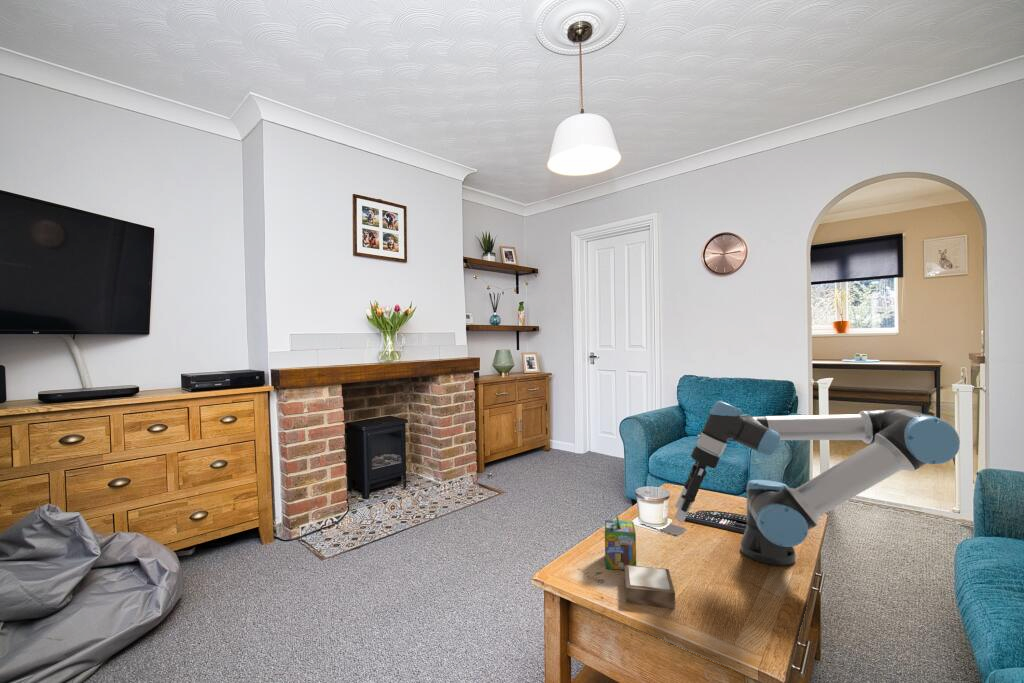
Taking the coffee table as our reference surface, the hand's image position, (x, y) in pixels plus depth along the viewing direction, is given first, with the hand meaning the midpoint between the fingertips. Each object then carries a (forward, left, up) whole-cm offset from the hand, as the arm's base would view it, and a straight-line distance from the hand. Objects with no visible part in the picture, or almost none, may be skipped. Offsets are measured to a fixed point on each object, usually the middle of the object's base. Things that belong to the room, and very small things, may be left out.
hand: (678, 514), depth 136 cm
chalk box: (+17, +2, -16) cm, 24 cm away
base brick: (+10, +17, -15) cm, 25 cm away
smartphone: (+1, -28, -16) cm, 32 cm away
